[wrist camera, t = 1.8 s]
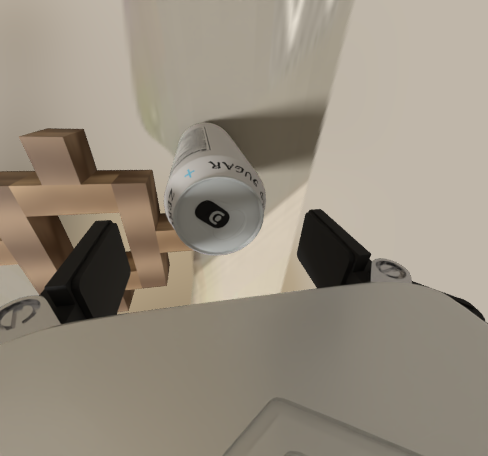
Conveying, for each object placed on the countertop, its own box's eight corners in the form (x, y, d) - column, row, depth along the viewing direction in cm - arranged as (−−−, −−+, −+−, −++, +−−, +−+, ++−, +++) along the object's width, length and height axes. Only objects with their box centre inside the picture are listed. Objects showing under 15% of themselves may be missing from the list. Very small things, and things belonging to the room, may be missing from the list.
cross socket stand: (-82, 125, 18) (-143, 134, 15) (186, 131, 22) (184, 139, 19) (39, 298, 30) (20, 324, 27) (199, 281, 34) (199, 302, 31)
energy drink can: (211, 187, 26) (227, 276, 14) (167, 155, 23) (136, 232, 11) (244, 147, 24) (296, 209, 12) (200, 107, 21) (208, 134, 9)
